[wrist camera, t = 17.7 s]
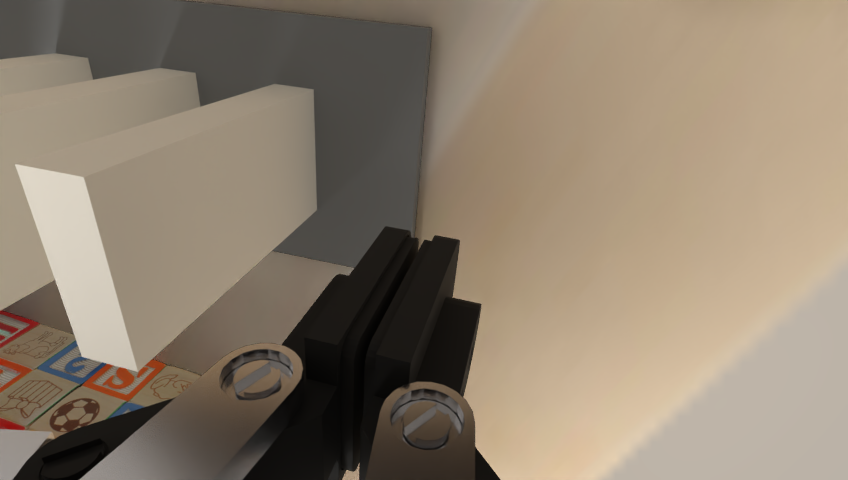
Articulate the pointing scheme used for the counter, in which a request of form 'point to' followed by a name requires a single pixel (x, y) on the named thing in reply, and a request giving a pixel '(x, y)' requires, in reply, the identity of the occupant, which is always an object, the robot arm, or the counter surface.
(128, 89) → the domino
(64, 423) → the stack of blocks
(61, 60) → the domino
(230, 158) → the domino
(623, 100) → the counter surface
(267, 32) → the domino mat
